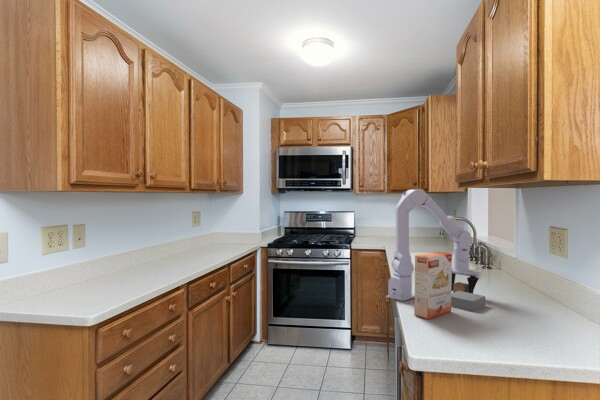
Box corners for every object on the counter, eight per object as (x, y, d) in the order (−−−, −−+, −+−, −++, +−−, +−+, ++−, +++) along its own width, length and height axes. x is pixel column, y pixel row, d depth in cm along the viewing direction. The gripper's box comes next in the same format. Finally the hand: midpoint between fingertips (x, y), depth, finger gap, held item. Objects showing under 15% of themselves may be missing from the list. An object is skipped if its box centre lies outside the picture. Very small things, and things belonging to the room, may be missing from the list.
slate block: (473, 312, 127) (473, 301, 127) (446, 306, 135) (446, 295, 135) (485, 306, 134) (485, 296, 134) (458, 300, 141) (458, 290, 141)
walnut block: (464, 298, 143) (464, 286, 143) (453, 296, 147) (453, 283, 147) (469, 296, 146) (469, 284, 146) (458, 294, 150) (458, 282, 150)
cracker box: (429, 320, 119) (429, 257, 118) (413, 315, 123) (413, 254, 123) (452, 312, 127) (452, 252, 126) (437, 307, 132) (437, 250, 131)
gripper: (484, 260, 143) (484, 294, 143) (449, 255, 154) (449, 287, 155) (476, 262, 139) (476, 297, 139) (440, 257, 150) (440, 290, 150)
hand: (461, 292), depth 146 cm, fingers open, 7 cm apart
